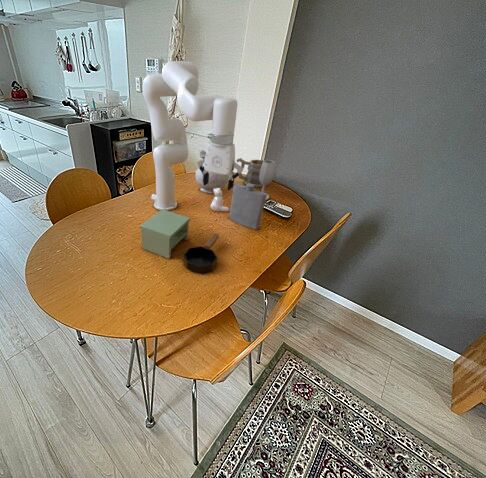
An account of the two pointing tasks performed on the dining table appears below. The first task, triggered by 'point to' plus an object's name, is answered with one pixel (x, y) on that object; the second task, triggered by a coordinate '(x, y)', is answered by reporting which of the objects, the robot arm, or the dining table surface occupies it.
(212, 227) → the dining table surface
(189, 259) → the pan
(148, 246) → the sage green box
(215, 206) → the sitting furry creature
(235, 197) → the hip flask
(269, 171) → the wineglass
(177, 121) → the robot arm
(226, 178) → the ceramic pitcher
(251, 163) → the tankard
